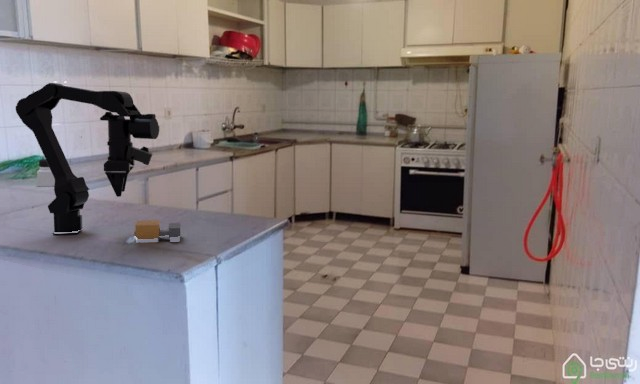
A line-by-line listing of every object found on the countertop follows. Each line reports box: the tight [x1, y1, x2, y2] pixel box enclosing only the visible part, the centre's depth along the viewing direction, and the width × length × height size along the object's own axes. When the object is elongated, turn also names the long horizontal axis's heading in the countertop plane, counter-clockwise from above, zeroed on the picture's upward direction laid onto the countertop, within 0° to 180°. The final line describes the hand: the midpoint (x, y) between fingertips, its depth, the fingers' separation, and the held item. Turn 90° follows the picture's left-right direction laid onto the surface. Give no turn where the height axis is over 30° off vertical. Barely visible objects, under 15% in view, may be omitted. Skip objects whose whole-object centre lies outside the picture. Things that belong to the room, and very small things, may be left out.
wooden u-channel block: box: [134, 219, 161, 239], centre depth 140 cm, size 6×6×5 cm
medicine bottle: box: [36, 158, 55, 188], centre depth 232 cm, size 7×7×12 cm
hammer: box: [133, 222, 181, 239], centre depth 140 cm, size 12×7×4 cm, turn 105°
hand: (120, 193), depth 142 cm, fingers open, 9 cm apart
